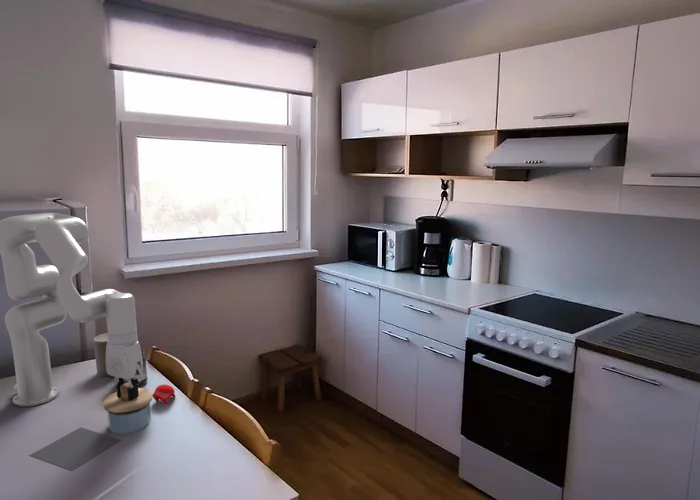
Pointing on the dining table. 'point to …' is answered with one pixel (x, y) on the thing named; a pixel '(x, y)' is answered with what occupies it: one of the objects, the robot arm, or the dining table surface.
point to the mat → (75, 448)
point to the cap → (163, 393)
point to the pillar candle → (101, 354)
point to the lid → (123, 403)
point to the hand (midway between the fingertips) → (128, 396)
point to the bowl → (129, 420)
